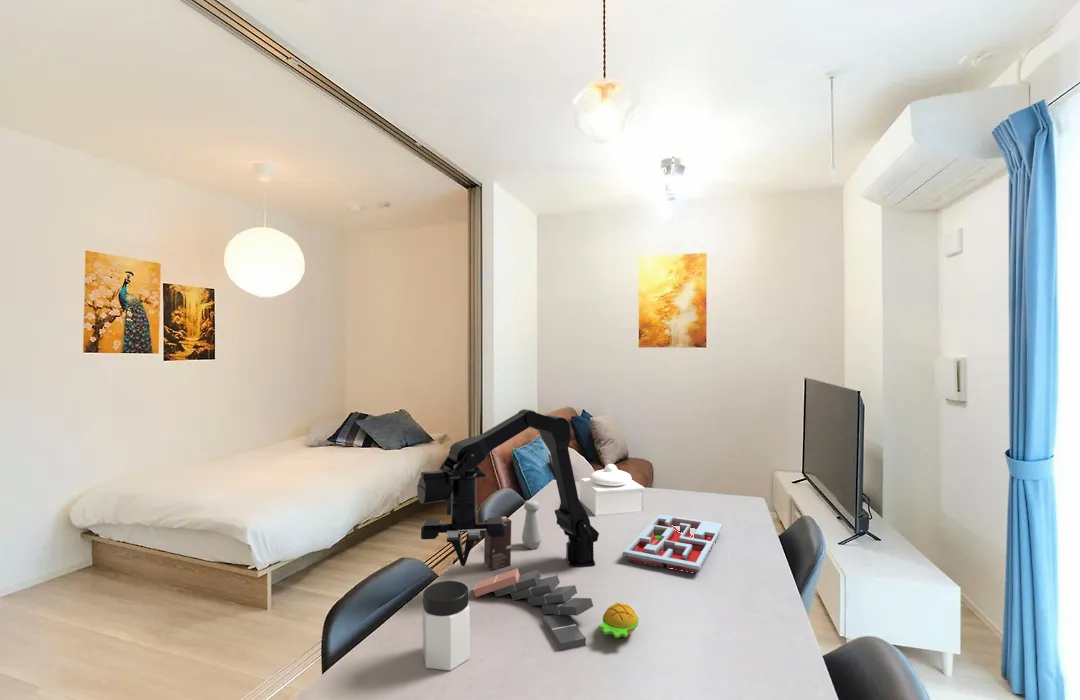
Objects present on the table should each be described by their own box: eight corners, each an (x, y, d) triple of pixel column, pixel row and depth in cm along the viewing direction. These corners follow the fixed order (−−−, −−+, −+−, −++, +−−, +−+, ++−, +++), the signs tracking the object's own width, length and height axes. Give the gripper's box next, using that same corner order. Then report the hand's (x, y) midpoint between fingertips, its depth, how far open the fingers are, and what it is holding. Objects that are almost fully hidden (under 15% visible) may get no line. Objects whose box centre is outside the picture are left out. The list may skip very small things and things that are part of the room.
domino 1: (479, 588, 116) (519, 575, 116) (475, 597, 111) (517, 582, 111) (477, 581, 116) (517, 568, 116) (473, 589, 111) (514, 575, 111)
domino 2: (501, 588, 116) (540, 576, 115) (495, 597, 111) (536, 585, 110) (499, 581, 116) (538, 569, 115) (493, 590, 112) (534, 577, 110)
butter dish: (580, 502, 185) (579, 459, 185) (625, 498, 189) (624, 457, 189) (595, 517, 168) (595, 470, 168) (644, 513, 172) (644, 467, 172)
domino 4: (542, 596, 112) (577, 592, 106) (529, 606, 108) (564, 602, 102) (540, 589, 112) (575, 585, 107) (526, 598, 108) (562, 594, 103)
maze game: (699, 579, 121) (699, 566, 121) (622, 563, 130) (622, 551, 130) (722, 534, 151) (722, 523, 151) (659, 524, 161) (659, 514, 161)
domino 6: (566, 620, 102) (585, 647, 93) (544, 624, 101) (561, 652, 91) (566, 612, 102) (585, 638, 93) (543, 616, 101) (560, 643, 91)
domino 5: (559, 605, 108) (593, 606, 101) (543, 613, 105) (577, 615, 98) (558, 597, 108) (591, 598, 102) (541, 605, 105) (575, 606, 98)
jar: (450, 637, 96) (450, 575, 96) (479, 653, 91) (479, 588, 91) (412, 659, 89) (411, 592, 89) (440, 678, 84) (440, 607, 84)
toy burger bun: (643, 627, 99) (643, 600, 99) (628, 654, 90) (627, 624, 90) (610, 619, 102) (610, 593, 102) (593, 644, 93) (592, 616, 93)
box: (491, 571, 125) (491, 524, 125) (483, 565, 129) (483, 519, 129) (512, 566, 128) (512, 519, 129) (503, 560, 132) (503, 515, 132)
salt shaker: (544, 543, 143) (544, 499, 144) (538, 551, 138) (538, 504, 138) (526, 541, 145) (525, 497, 145) (518, 548, 140) (518, 502, 140)
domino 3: (522, 590, 115) (559, 582, 111) (512, 600, 110) (551, 592, 107) (520, 583, 115) (557, 575, 112) (510, 593, 111) (549, 584, 107)
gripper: (503, 487, 123) (502, 550, 123) (427, 489, 121) (426, 553, 121) (504, 500, 112) (504, 569, 112) (421, 502, 110) (420, 572, 110)
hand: (463, 565), depth 114 cm, fingers closed
